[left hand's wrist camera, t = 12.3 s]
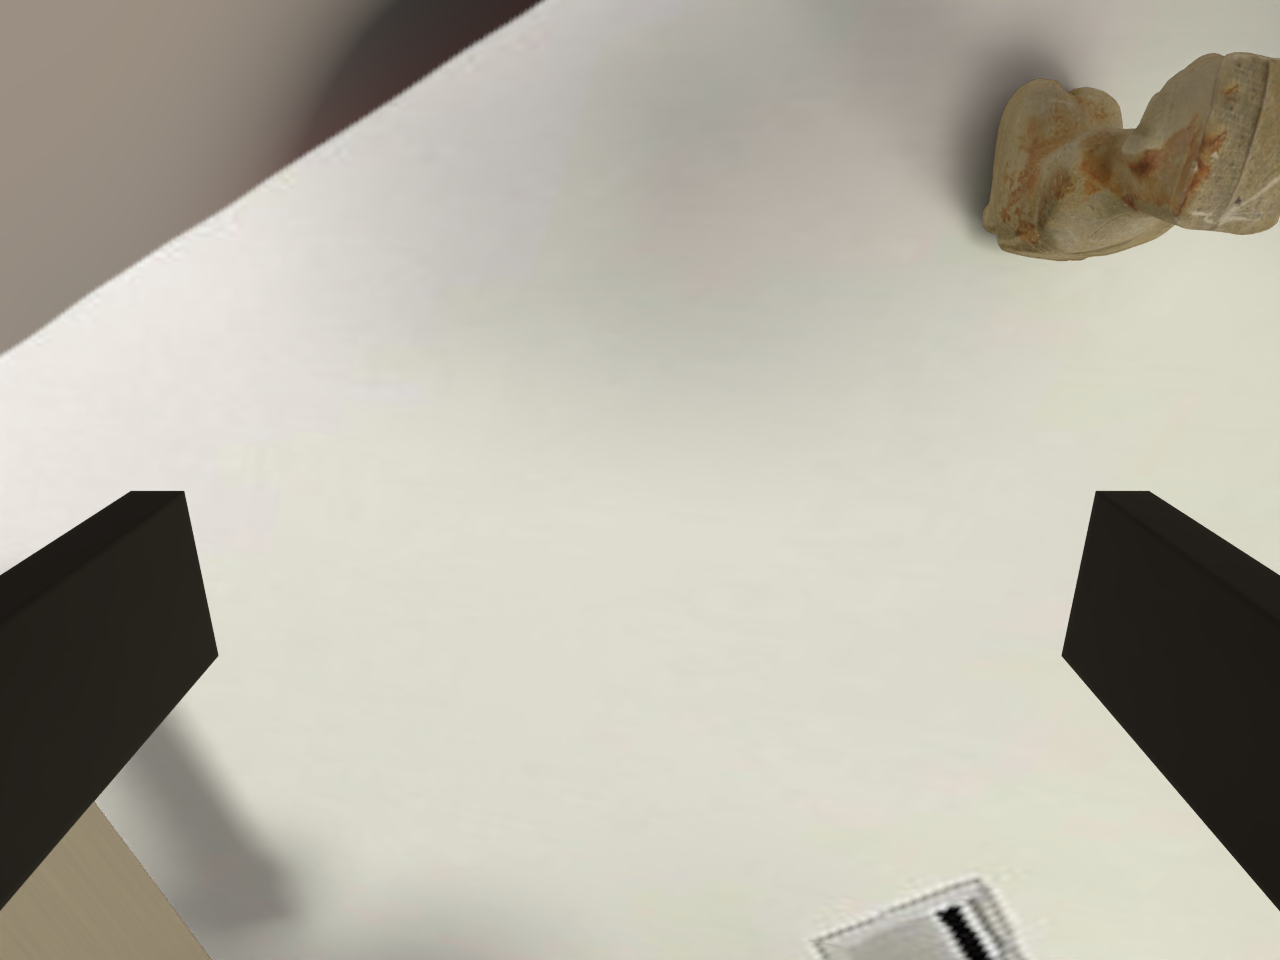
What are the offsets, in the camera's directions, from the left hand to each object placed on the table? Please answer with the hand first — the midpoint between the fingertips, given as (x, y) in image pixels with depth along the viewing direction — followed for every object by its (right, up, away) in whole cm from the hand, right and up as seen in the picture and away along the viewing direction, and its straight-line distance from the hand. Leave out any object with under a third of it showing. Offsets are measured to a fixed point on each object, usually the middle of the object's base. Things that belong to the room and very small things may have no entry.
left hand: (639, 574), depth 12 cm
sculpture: (+18, +16, +26) cm, 36 cm away
